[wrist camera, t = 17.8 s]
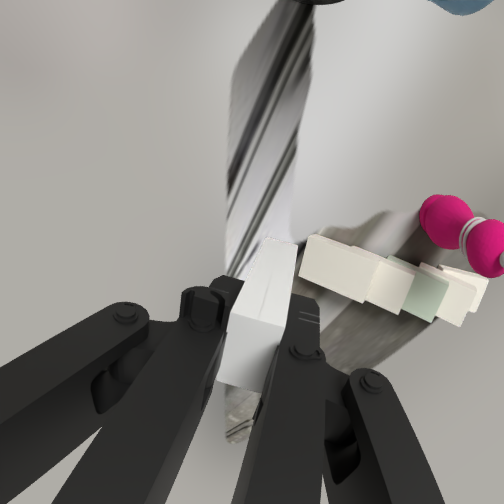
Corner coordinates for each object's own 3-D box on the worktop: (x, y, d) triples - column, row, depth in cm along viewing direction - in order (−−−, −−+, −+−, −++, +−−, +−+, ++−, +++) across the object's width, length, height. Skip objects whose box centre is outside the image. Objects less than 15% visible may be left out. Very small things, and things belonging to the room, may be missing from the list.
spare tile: (386, 257, 40) (448, 286, 35) (390, 254, 42) (449, 281, 37) (372, 295, 42) (431, 323, 37) (376, 290, 44) (432, 317, 39)
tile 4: (419, 265, 39) (477, 292, 34) (421, 261, 41) (476, 287, 36) (404, 301, 42) (459, 327, 36) (407, 296, 43) (460, 320, 38)
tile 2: (348, 248, 41) (414, 275, 36) (353, 245, 43) (416, 271, 38) (335, 286, 43) (398, 315, 38) (341, 282, 45) (400, 309, 40)
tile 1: (308, 236, 41) (377, 262, 36) (315, 233, 43) (380, 258, 38) (298, 275, 43) (362, 303, 38) (305, 271, 45) (367, 297, 40)
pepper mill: (447, 244, 40) (517, 304, 21) (409, 230, 40) (472, 289, 22) (462, 200, 37) (544, 238, 19) (424, 184, 38) (501, 213, 19)
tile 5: (443, 269, 39) (488, 280, 38) (437, 263, 41) (482, 274, 40) (430, 304, 41) (475, 312, 40) (425, 297, 43) (469, 305, 42)
